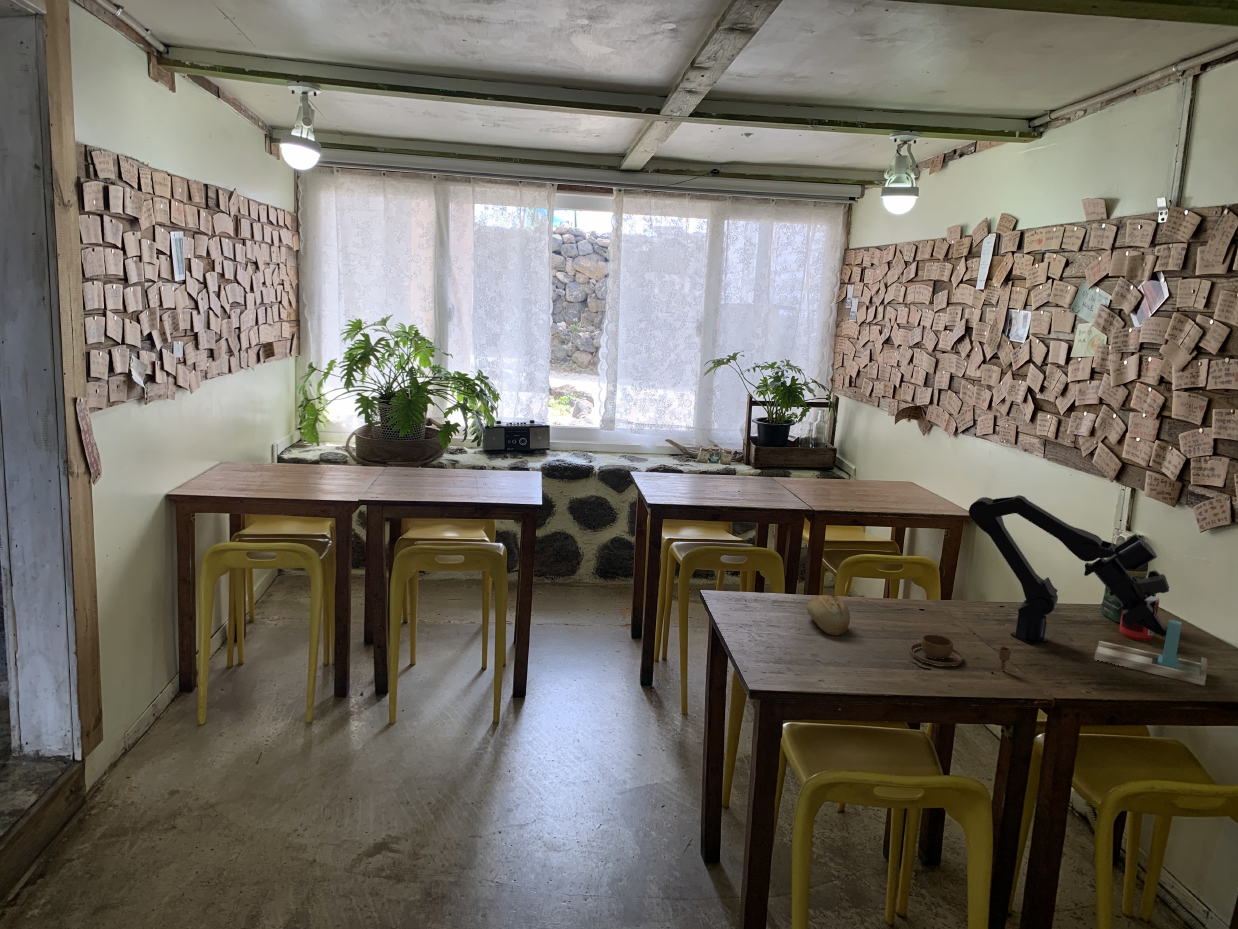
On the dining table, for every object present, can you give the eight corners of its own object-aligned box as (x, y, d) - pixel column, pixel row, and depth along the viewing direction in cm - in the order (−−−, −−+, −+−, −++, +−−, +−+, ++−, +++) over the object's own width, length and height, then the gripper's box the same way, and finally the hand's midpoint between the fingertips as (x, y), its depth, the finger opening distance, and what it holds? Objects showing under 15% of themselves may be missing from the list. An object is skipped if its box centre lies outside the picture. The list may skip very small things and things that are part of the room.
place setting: (937, 643, 211) (939, 620, 210) (1012, 673, 195) (1015, 649, 194) (891, 657, 202) (894, 634, 200) (967, 690, 185) (970, 665, 184)
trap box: (1094, 659, 204) (1096, 646, 203) (1098, 648, 211) (1100, 635, 210) (1204, 685, 192) (1207, 671, 191) (1204, 672, 199) (1207, 658, 198)
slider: (1157, 666, 198) (1164, 625, 196) (1158, 657, 202) (1165, 618, 201) (1177, 670, 195) (1184, 629, 194) (1178, 662, 200) (1185, 622, 198)
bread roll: (832, 615, 227) (834, 587, 225) (857, 637, 212) (860, 606, 211) (798, 616, 225) (800, 587, 223) (822, 638, 210) (824, 608, 209)
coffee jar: (1094, 611, 237) (1104, 548, 234) (1122, 612, 238) (1132, 548, 234) (1116, 624, 228) (1126, 558, 224) (1144, 625, 228) (1155, 559, 225)
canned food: (1148, 632, 223) (1155, 592, 221) (1156, 643, 216) (1163, 602, 214) (1115, 628, 226) (1121, 588, 223) (1122, 638, 218) (1128, 598, 216)
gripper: (1146, 571, 191) (1197, 629, 187) (1150, 553, 206) (1198, 606, 202) (1101, 597, 197) (1150, 654, 192) (1109, 577, 212) (1154, 630, 208)
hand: (1164, 635), depth 198 cm, fingers closed, pressing on slider
